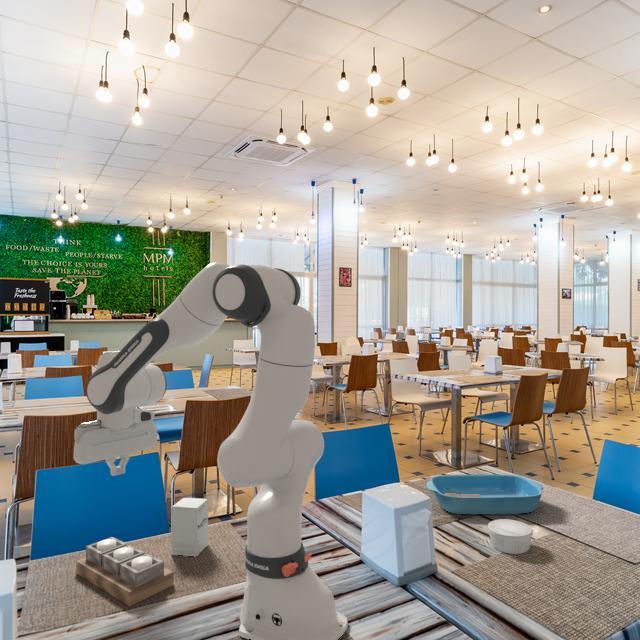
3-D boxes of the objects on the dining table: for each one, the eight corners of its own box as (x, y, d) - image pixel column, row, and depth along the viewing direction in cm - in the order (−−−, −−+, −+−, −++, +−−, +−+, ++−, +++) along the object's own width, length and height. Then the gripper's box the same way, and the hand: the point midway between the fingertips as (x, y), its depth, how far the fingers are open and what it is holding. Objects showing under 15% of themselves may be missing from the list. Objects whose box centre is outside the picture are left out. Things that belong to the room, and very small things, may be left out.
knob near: (156, 573, 115) (156, 559, 115) (138, 581, 112) (138, 567, 112) (145, 568, 118) (144, 554, 118) (127, 575, 115) (127, 561, 115)
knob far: (120, 555, 125) (119, 542, 125) (102, 562, 121) (102, 548, 121) (110, 550, 127) (110, 537, 127) (93, 556, 124) (93, 543, 124)
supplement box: (197, 557, 130) (196, 508, 130) (170, 555, 132) (169, 506, 132) (209, 545, 137) (208, 498, 137) (183, 543, 139) (183, 496, 139)
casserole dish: (434, 519, 155) (434, 495, 155) (420, 494, 177) (420, 473, 177) (556, 519, 154) (556, 495, 154) (527, 493, 177) (527, 473, 177)
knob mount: (173, 585, 117) (173, 558, 117) (129, 606, 108) (129, 578, 108) (118, 556, 131) (118, 533, 131) (76, 573, 122) (76, 548, 122)
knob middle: (137, 564, 120) (137, 550, 120) (120, 571, 117) (120, 557, 117) (127, 558, 123) (127, 545, 123) (109, 565, 119) (109, 552, 119)
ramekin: (488, 553, 132) (488, 533, 132) (487, 535, 143) (487, 516, 143) (535, 559, 129) (534, 538, 129) (530, 540, 139) (530, 521, 139)
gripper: (81, 425, 114) (82, 487, 114) (160, 412, 130) (161, 466, 130) (67, 423, 118) (68, 483, 118) (145, 410, 134) (146, 462, 134)
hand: (117, 474), depth 124 cm, fingers closed
